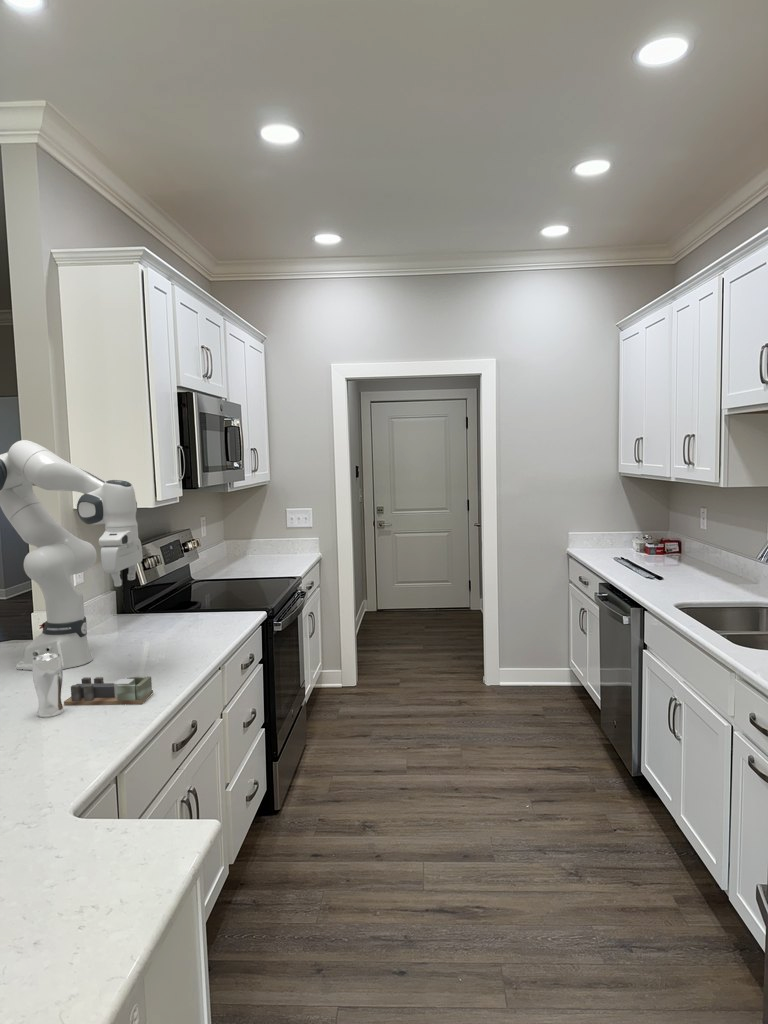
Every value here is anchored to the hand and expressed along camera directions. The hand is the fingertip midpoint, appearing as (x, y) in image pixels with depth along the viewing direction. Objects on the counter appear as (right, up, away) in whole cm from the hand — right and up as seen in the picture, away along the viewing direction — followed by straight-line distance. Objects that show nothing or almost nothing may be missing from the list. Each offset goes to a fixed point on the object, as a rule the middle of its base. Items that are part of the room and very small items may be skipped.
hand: (125, 582), depth 199 cm
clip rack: (0, -30, -13) cm, 33 cm away
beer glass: (-11, -32, -22) cm, 40 cm away
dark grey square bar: (-2, -30, -13) cm, 32 cm away
